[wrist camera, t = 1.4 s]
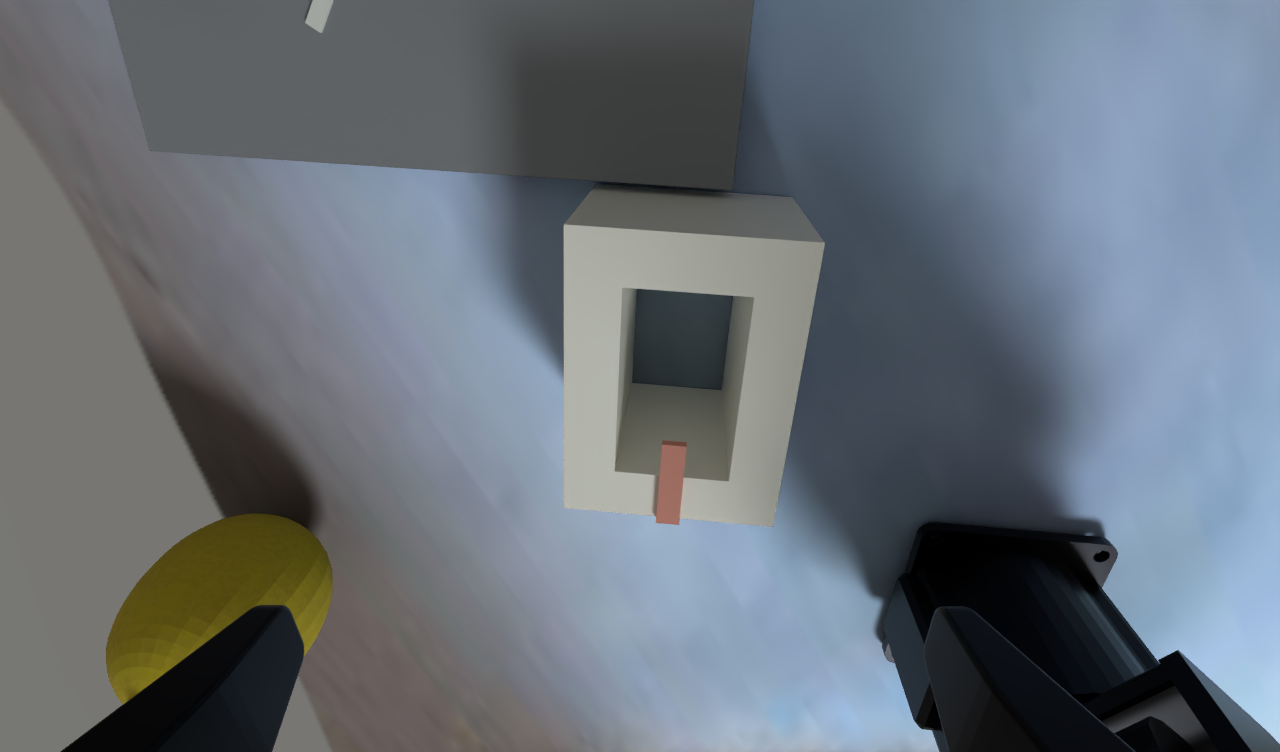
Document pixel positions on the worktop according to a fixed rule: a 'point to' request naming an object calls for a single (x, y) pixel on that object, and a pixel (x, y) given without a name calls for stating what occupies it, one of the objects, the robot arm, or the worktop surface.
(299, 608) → the lemon
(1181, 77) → the worktop surface
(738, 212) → the square tube sleeve
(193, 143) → the grey peg base plate
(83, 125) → the worktop surface
